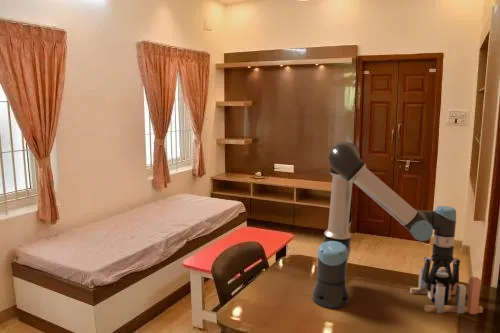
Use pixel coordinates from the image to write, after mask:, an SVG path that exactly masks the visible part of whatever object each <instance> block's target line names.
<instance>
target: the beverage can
mask: <svg viewBox="0 0 500 333" xmlns="http://www.w3.org/2000/svg"><path fill="white" fill-rule="evenodd" d="M448 276H449V275H448V274H447V273H445V272H442V271H437V273H436V275H435V277H434V279H433V282H432V284H434V286H433V298H432V299H430V300H431V302H432V303H434V304H435V294H436V284H443V285H444V286H445V297H444V305H445V304H447V303H448V301H449V300H448V291H449V277H448Z"/></svg>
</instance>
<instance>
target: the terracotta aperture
mask: <svg viewBox="0 0 500 333" xmlns="http://www.w3.org/2000/svg"><path fill="white" fill-rule="evenodd" d="M460 264H461V263H460ZM460 264H459V270H460V269H461V267H460V266H461V265H460ZM450 267H451V273H452V276H453V261H452V262H451V263H450ZM481 283H482V280H481V279H480V278H479V277H477V276H469V280H468V292H467V300H466V306H468V307H469V312H468V313H469V315H478V314H479V313H478V306H479V303H480V302H479V301H480V293H481ZM457 284H459V283H455V285H454V286H453V291H451V296H454V295H455V296H456V289H457Z"/></svg>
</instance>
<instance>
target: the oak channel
mask: <svg viewBox="0 0 500 333" xmlns="http://www.w3.org/2000/svg"><path fill="white" fill-rule="evenodd" d="M409 292H410V294H413V295H414V294H415V295H416V294H418V295H428V290H427V289H420V288H418V287H410V288H409ZM456 310H457V307H456V306H455V305H450V304H449V305H445V304H444V308H443V313H457V312H456ZM424 311H425V312H426V313H427V312H428V313H431V312H432V313H434V312H435V313H436V306H435V304H424ZM483 311H484V308H483V306H481V305H478V313H477V314H481V313H483ZM464 313H469V307H468V306H467V305H464Z"/></svg>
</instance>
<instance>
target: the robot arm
mask: <svg viewBox="0 0 500 333" xmlns="http://www.w3.org/2000/svg"><path fill="white" fill-rule="evenodd" d="M327 157H328V158H327V159H328V160H327V161H328V164H329V174H330V175H331V176H332V181H331V191H330V192H331V193H330V204H329V213H328V214H329V215H328V224H327V229H326V230H325V231H324V232H323V242H322V243H320V244H319V246H318V249H317V274H316V282H315V285H314V287H313V290H312V292H311V293H312V294H311V297H312V301H313V302H314V303H315V304H316V305H318V306H321V307H324V308H328V309H341V308H345V307H347V306H348V305H349V303H350V294H349V293H350V292H349V291H348V287H347V281H346V280H347V267H348V266H347V264H348V261H349V257H350V254H351V252H352V251H351V240H352V235H351V233H350V232H349V223H350V216H351V215H350V213H351V203H352V194H353V193H352V192H353V184H354V185H356V186H357V188H359V189H361V190H362V192H364V193H365V194H366V195H367V196H368V197H370V199H371V200H373V202H375V203H376V204H378V206H380V207H381V208H382V209H383V210H384V211H386V212H387V213H388V214H389V215H390V216H391V217H393V218H394V219H395V220H396V221H397V222H399V224H401V225H402V226H403V227H404V228H405V229H406V230H407V231H408V232H410V234H411V236H412V237H413V238H414V240H417V241H419V242H423V241H424V242H425V241H429V240H430V239H431V237H432V236H433V239H432V240H433V241H432V242H433V244H432V253H431V254H432V255H431V256H430V257H424V259H423V261H424V265H423V267H424V271H423V277H422V280H423V281H424V282H425V283H427V284H426V289H427V290H428V294H427V297H428V298H429V300H431V299H432V298H433V286H434V284H432V282H433V279H434V277H435V275H436V273H437V271H438V270H439V268H445V270H446V273H447V274H448V275H449V276H448V277H449V291H448V301H450V300H451V296H452V295H451V291H453V286H454V285H455V283H458V284H460V269H459V268H460V267H459V264H461V260H460V259H458V257H454V248H455V247H454V245H455V235H456V226H457V225H456V224H457V210H456V209H455V208H454V207H452V206H447V205H438V206H436V208H435V210H425V209H424V210H423V209H415V208H414V207H412V206H411V204H409V203H408V202H407V201H406V200H404V199H403V198H402V197H401V196H400V195H399V194H398V193H396V192H395V191H394V190H393V189H392V188H391V187H390V186H388V185H387V184H386V183H385V182H384V181H382V180H381V179H380V178H379V177H378V176H376V174H374V173H373V172H372V171H370V170H369V169H368V168H367V165H366V163H365V161H363V160H362V159H361V154H360V150H359V148H358V147H357V145H356V144H354V143H353V142H350V141H339V142H338V143H336V144H335V145H334V146H333V147H332V148H331V149H330V151H329V152H328V156H327ZM452 261H453V276H452V273H451V267H450V263H451V262H452ZM432 262H433V263H432ZM431 263H432V265H431Z"/></svg>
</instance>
